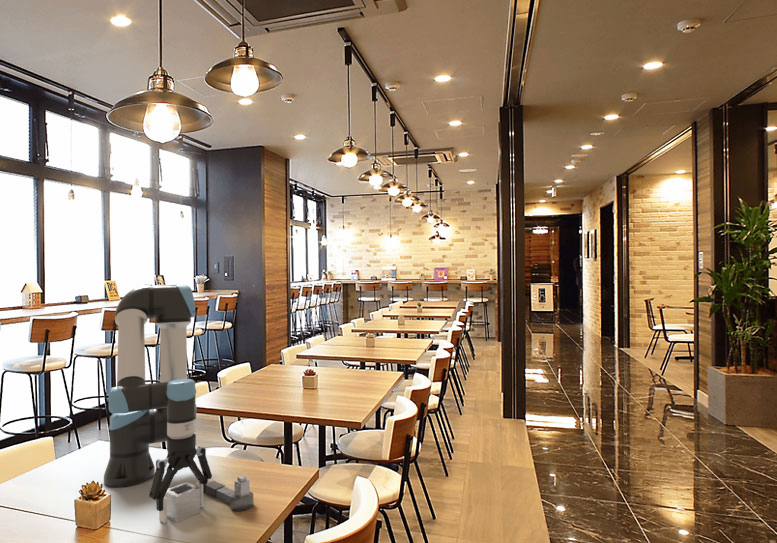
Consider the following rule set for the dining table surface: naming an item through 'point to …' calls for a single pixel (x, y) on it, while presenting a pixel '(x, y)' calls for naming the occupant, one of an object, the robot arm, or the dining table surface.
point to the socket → (182, 501)
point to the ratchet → (232, 494)
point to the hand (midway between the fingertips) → (181, 513)
